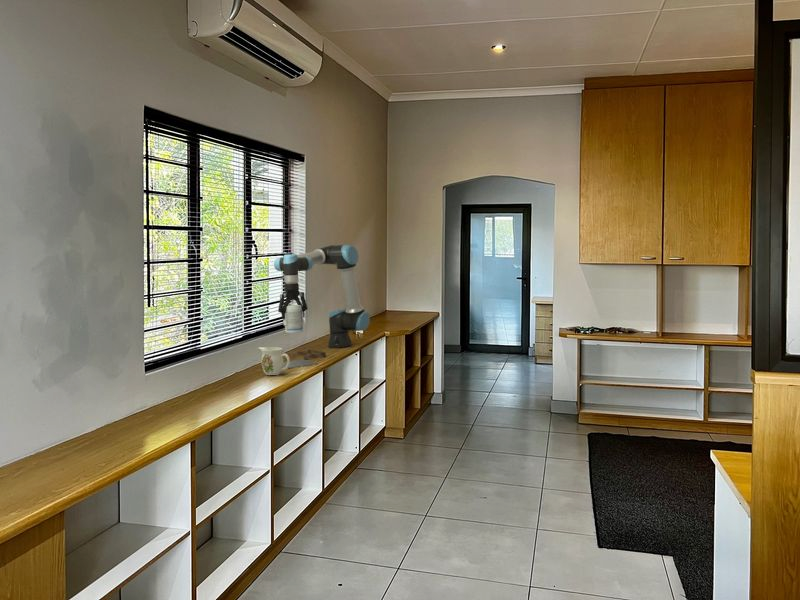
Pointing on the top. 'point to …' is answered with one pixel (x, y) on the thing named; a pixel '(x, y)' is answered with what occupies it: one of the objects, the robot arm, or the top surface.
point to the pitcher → (273, 360)
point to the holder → (309, 354)
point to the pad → (299, 363)
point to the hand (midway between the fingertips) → (293, 324)
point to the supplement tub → (294, 319)
